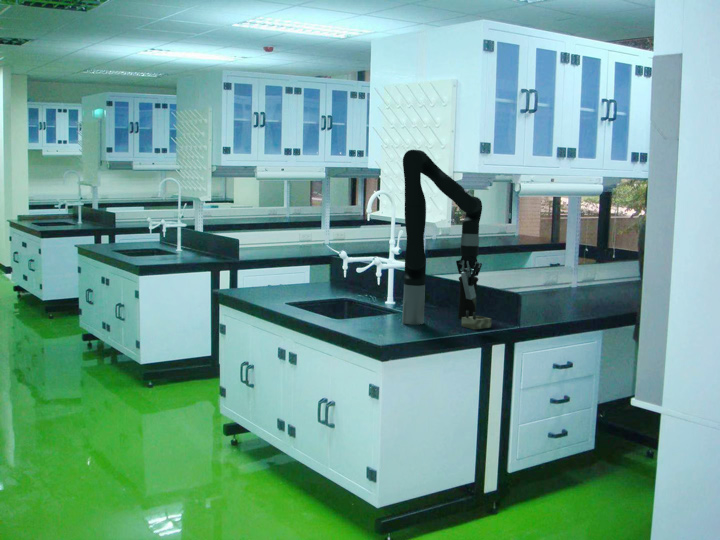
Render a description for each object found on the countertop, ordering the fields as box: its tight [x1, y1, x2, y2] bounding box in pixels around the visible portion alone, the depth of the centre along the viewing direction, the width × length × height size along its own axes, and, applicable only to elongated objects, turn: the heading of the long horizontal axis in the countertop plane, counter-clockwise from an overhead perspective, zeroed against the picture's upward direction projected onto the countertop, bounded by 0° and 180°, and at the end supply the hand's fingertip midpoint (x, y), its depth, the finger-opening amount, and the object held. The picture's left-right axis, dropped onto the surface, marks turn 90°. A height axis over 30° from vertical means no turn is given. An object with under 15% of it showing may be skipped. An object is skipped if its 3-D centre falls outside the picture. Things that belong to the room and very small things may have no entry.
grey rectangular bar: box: [460, 270, 477, 300], centre depth 318 cm, size 3×3×12 cm
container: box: [457, 276, 479, 320], centre depth 345 cm, size 9×9×20 cm
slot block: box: [460, 311, 492, 330], centre depth 326 cm, size 10×8×7 cm
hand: (467, 285), depth 318 cm, fingers closed on grey rectangular bar, 3 cm apart
